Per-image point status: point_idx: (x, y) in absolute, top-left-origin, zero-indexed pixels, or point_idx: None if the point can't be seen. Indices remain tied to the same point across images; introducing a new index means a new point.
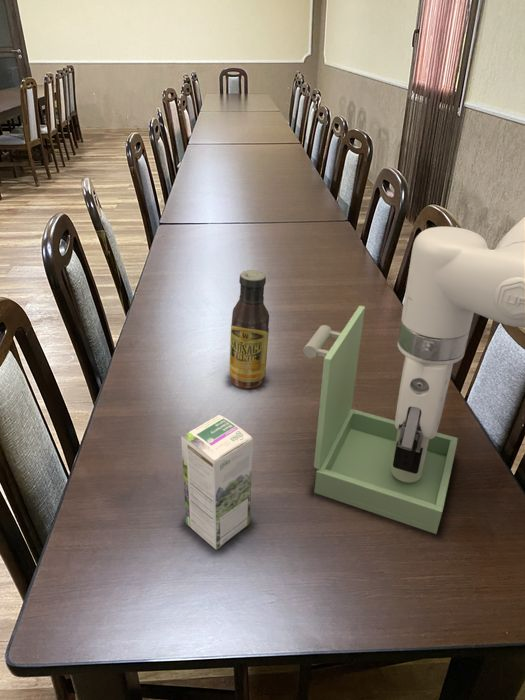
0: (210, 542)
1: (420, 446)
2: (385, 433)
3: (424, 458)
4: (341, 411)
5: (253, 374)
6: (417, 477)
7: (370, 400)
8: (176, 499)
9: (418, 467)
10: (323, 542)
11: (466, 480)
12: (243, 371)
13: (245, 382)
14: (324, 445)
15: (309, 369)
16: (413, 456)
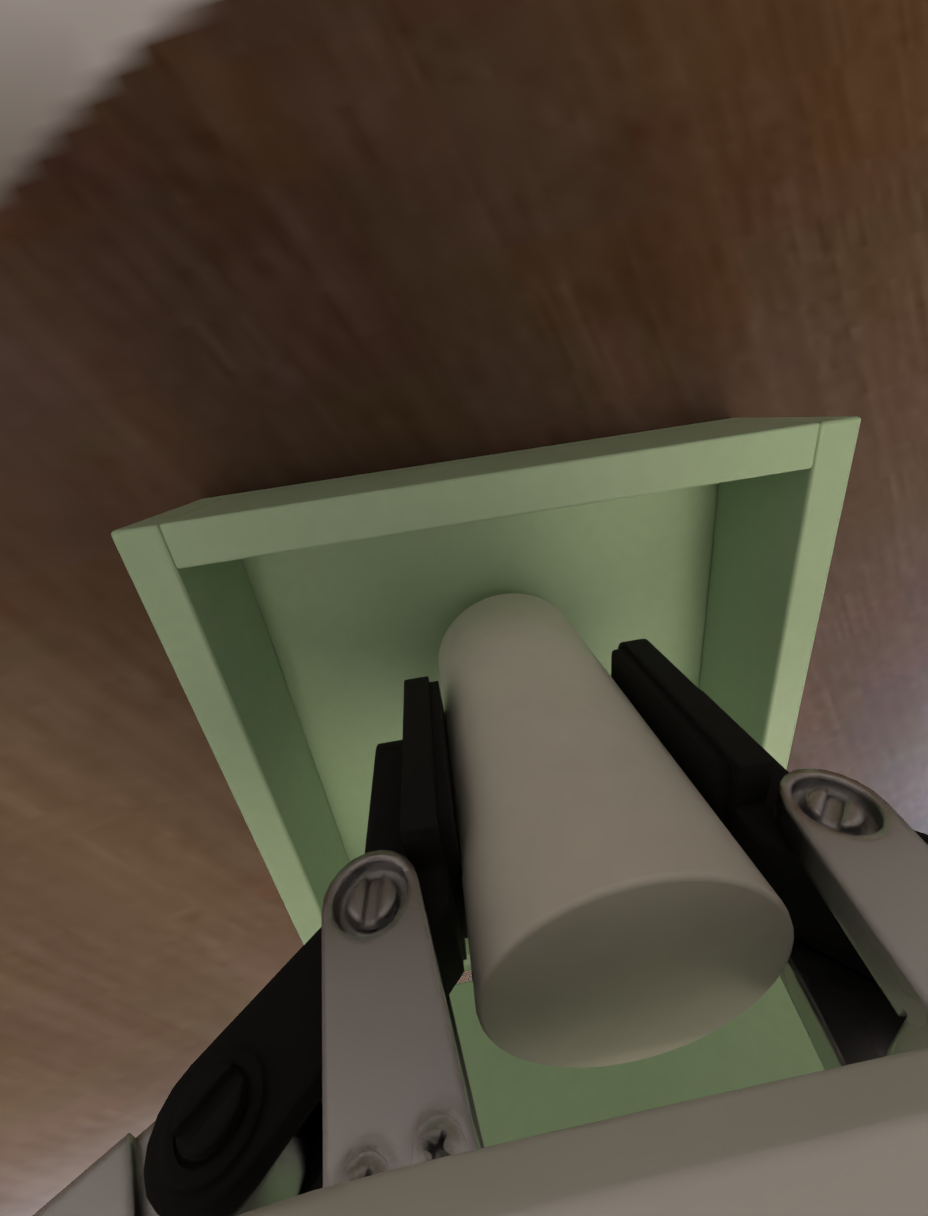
0: None
1: (918, 840)
2: (320, 812)
3: (553, 657)
4: (553, 1129)
5: None
6: (552, 609)
7: (112, 902)
8: None
9: (665, 660)
10: (864, 718)
11: (312, 381)
12: None
13: None
14: (811, 1046)
15: (136, 1077)
16: (775, 761)
